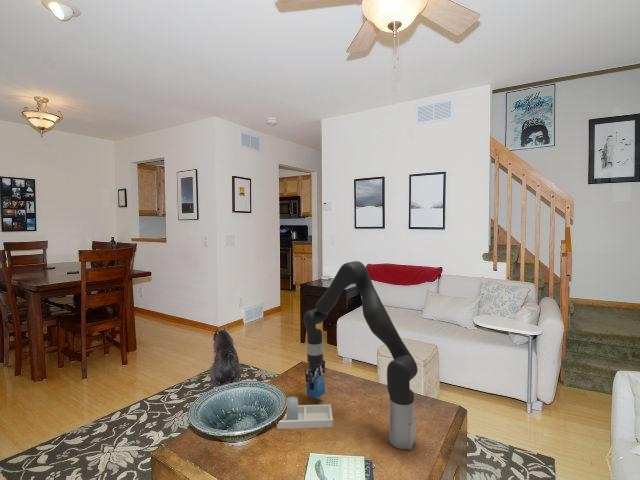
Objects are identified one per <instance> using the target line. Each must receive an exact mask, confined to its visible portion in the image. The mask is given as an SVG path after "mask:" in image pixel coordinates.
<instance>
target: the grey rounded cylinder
mask: <svg viewBox="0 0 640 480" xmlns="http://www.w3.org/2000/svg"><path fill="white" fill-rule="evenodd" d="M286 399H287V410H286V420H298V405H299V398H298V397H297V396H294V395H293V396H288V397H287V398H286Z"/></svg>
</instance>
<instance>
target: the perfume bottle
mask: <svg viewBox="0 0 640 480" xmlns="http://www.w3.org/2000/svg"><path fill="white" fill-rule="evenodd" d="M318 371H319V369H318ZM318 371H317V374H316V377H315V378H314V390H310V389H309V382H306V381H305V382H306V396H308V397H311V398H314V399H316V400H317V399H318V400H319V398H321V397H323V395H325V394H326V380H325V379H324V377H323V376H321V375H319V372H318ZM311 375H314V374H312V373H311ZM311 379H312V377H311Z"/></svg>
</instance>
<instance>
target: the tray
mask: <svg viewBox="0 0 640 480" xmlns="http://www.w3.org/2000/svg"><path fill="white" fill-rule="evenodd" d="M318 428H319V429H320V428H321V429H323V428H334V419H333V412H332V404H331V403H329V404H303V405H302V404H298V420H286V414H285V416H284V418H283V419H282V420H280V421H279V422H278V424H277V423H276V430H293V429H294V430H295V429H318Z"/></svg>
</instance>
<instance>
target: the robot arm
mask: <svg viewBox="0 0 640 480" xmlns="http://www.w3.org/2000/svg"><path fill="white" fill-rule="evenodd" d="M350 285H355V286H356V288H357V290H358V291H359V294H360V297H361V302H362V303H361V304H362V305H361V306H362V315H363V318H364V319H365V322H366V324H367V327H368V328H369V330H370V331H371V332H372V334H373V335H374V336H376V338H378V340H380V341H381V343H383V344H384V345H385V346H386V348H387V349H388V351H389V353H390V355H391V356H392V359H393V360H391V361H390V362H389V363H388V365H387V369H386V385H387V392H388V394H389V422H388V423H389V424H388V425H389V426H388V427H389V432H388V433H389V435H388V436H389V437H388V439H389V443H390V444H391V445H392V446H393V447H394V448H396V449H399V450H409V451H412V450H413V449H412V448H413V447H414V445H415V443H416V431H417V430H416V429H417V426H416V424H417V421H416V420H417V419H416V417H415V393H414V391H413V390H412V389H410V388H411V387H410V385H411V384H410V381H411V380H413V378H415V377H416V376H417V374H418V364H417V362H416V361H415V358H414V357H413V355H412V353H411V352H410V350H409V349H408V348H407V346H406V344H405V343H404V341H403V340H402V338H401V336H400V334H399V333H398V330H397V328H396V327H395V325H394V323H393V321H392V320H391V317H390V315H389V313H388V312H387V310H386V308H385V305H383V303H382V301H381V298H380V296H379V294H378V292H377V290H376V289H375V286H374V283H373V282H372V279H371V276H370V274H369V271H368V269H367V268H366V265H364V264H363V262H361V261H360V260H359V261H358V260H355V261H350V262H346V263H343V264H342V265H341V266H340V267H339V269H338V271H337V272H336V274H335V276H334V278H333V279H332V282H331V283H330V285H329V286H328V288H327V290H325V291H324V293H323V294H322V296H321V297H320V298H319V299H318V300H317V302H316V304H315V308H314V309H311V310H310V309H309V310H307V311H305V313H304V314H303V324H304V328H305V331H306V332H305V333H306V337H307V338H306V341H307V342H306V343H307V345H306V356H307V357H306V361H307V363H308V369H307V368H306V369H305V370H304V375H305V382H309V389H310V390H314V378H315V377H316V374H317V371H318V369H319V371H318V372H319V375H321V376H322V377H323V376H324V374H325V373H326V360H324V344H323V331H322V329H320V328H317V325H319V324H321V323H323V322H324V321H325V320H326V319H327V317H328V315H329V312H330V311H331V310H332V309H333V308H334V307H335V306H336V304H337V303H338V302H339V299H340V295H341V294H342V292H343V291H344V290H345V289H347V288H349V286H350ZM312 374H314V375H312ZM311 377H312V379H311Z"/></svg>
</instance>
